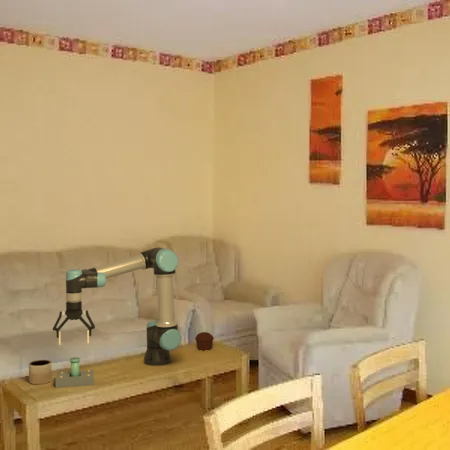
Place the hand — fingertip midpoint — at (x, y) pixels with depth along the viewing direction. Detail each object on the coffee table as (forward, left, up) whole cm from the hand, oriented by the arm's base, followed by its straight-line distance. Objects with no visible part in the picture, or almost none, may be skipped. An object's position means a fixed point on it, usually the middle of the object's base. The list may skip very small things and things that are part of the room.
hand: (74, 343), depth 285 cm
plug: (0, 0, -20) cm, 20 cm away
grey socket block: (0, 0, -20) cm, 20 cm away
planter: (+17, -6, -20) cm, 27 cm away
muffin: (-75, -48, -20) cm, 91 cm away
